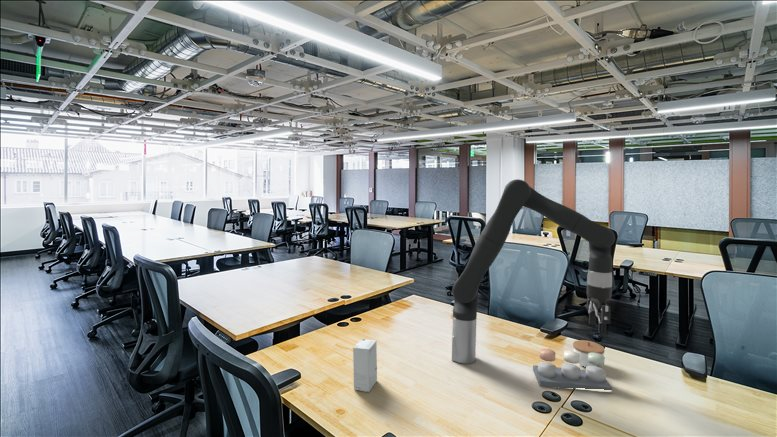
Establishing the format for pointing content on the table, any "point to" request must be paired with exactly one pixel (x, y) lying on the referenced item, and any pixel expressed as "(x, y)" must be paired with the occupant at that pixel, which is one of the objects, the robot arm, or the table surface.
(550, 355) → the knob
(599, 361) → the knob
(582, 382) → the control board
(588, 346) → the lidded jar
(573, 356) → the knob mid
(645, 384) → the table surface
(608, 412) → the table surface
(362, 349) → the skincare box
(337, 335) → the table surface
